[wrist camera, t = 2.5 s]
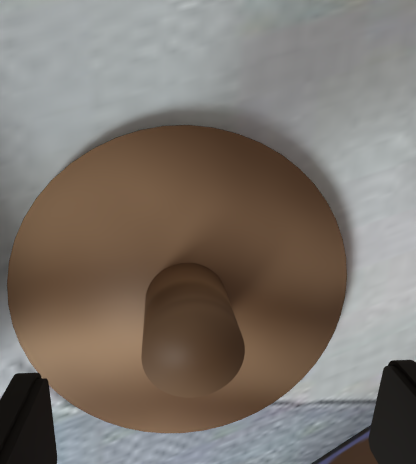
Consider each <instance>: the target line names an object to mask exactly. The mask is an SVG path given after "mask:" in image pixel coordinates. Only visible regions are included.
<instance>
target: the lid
mask: <svg viewBox="0 0 416 464" xmlns="http://www.w3.org/2000/svg"><path fill="white" fill-rule="evenodd" d="M346 281H347V270H346V255H345V250H344V244H343V239H342V236H341V233H340V230H339V227H338V224H337V221H336V219H335V217H334V215H333V213H332V211H331V209H330V207H329V205H328V203H327V201H326V200H325V198H324V197H323V196H322V194H321V193H320V191H319V190H318V189H317V187H316V186H315V184H314V183H313V182H312V181H311V180H310V179H309V178H308V177H307V176H306V175H305V174H304V173H303V172H302V171H301V170H300V169H299V168H298V167H297V166H295V165H294V164H293V163H292V162H290V161H289V160H288V159H286V158H285V157H284V156H283V155H281V154H279V153H278V152H276V151H274V150H272V149H271V148H269V147H267V146H265V145H264V144H262V143H260V142H257V141H255V140H252V139H250V138H247V137H245V136H242V135H239V134H236V133H233V132H229V131H224V130H220V129H216V128H212V127H202V126H193V125H176V126H161V127H155V128H149V129H143V130H139V131H135V132H132V133H129V134H126V135H123V136H120V137H117V138H114V139H112V140H110V141H108V142H106V143H104V144H102V145H100V146H98V147H96V148H94V149H92V150H90V151H89V152H87V153H86V154H84V155H83V156H81V157H80V158H78V159H77V160H75V161H74V162H72V163H71V164H69V165H68V166H67V167H66V168H65V169H64V170H63V171H62V172H60V173H59V174H58V175H57V176H56V177H55V178H54V179H53V180H51V182H50V183H49V184H48V185H47V186H46V188H45V189H44V190H43V191H42V192H41V193H40V195H39V196H38V197H37V198H36V200H35V201H34V203H33V204H32V206H31V208H30V209H29V211H28V213H27V214H26V216H25V217H24V219H23V221H22V224H21V226H20V229H19V231H18V233H17V236H16V238H15V240H14V244H13V248H12V252H11V256H10V260H9V268H8V279H7V291H8V305H9V310H10V315H11V319H12V324H13V327H14V330H15V332H16V335H17V337H18V340H19V343H20V345H21V347H22V349H23V350H24V352H25V354H26V356H27V358H28V359H29V361H30V363H31V364H32V365H33V367H34V368H35V369H36V371H37V372H38V373H40V375H41V377H42V378H47V379H48V383H49V385H50V386H51V387H52V388H53V389H54V390H55V391H56V392H57V393H58V394H59V395H61V396H62V397H63V398H65V399H66V400H67V401H69V402H70V403H71V404H73V405H74V406H76V407H78V408H79V409H81V410H83V411H84V412H86V413H88V414H90V415H92V416H94V417H97V418H99V419H101V420H103V421H106V422H108V423H112V424H115V425H118V426H121V427H124V428H129V429H134V430H139V431H144V432H156V433H186V432H194V431H203V430H207V429H211V428H216V427H220V426H224V425H227V424H230V423H233V422H235V421H238V420H241V419H243V418H245V417H248V416H250V415H252V414H254V413H256V412H258V411H260V410H262V409H263V408H265V407H267V406H268V405H270V404H272V403H274V402H275V401H276V400H278V399H279V398H280V397H282V396H283V395H284V394H286V393H287V392H288V391H290V390H291V389H292V388H293V387H294V386H295V385H296V384H297V383H298V382H299V381H300V380H301V379H303V377H304V376H305V375H306V374H307V373H308V372H309V371H310V369H311V368H312V367H313V366H314V365H315V363H316V362H317V361H318V359H319V358H320V356H321V355H322V353H323V352H324V350H325V349H326V347H327V345H328V343H329V341H330V339H331V337H332V335H333V333H334V331H335V329H336V326H337V323H338V321H339V318H340V315H341V311H342V307H343V303H344V298H345V291H346Z"/></svg>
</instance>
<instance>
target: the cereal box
mask: <svg viewBox="0 0 416 464" xmlns="http://www.w3.org/2000/svg"><path fill="white" fill-rule="evenodd" d="M370 429H371V425H370V426H369V427H367V428H366V429H364V430H363V431H361V432H360V433H358V434H356V435H355V436H353V437H352V438H350V439H349V440H347V441H346V442H344V443H343V444H341V445H339V446H338V447H336V448H335V449H333V450H332V451H330V452H329V453H327V454H326V455H324V456H322V457H321V458H319V459H318V460H316V461H315V462H313V463H312V464H378V462H377V461H376V459H375V457H374V456H373V454H372V452H371V450H370V447H369V441H368V439H369V433H370Z"/></svg>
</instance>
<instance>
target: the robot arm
mask: <svg viewBox="0 0 416 464" xmlns="http://www.w3.org/2000/svg"><path fill="white" fill-rule="evenodd" d="M368 441H369V447H370V450H371V452H372V454H373V456H374V457H375V459H376V461H377V462H378V464H416V362H414V361H412V360H394V361H391V362H390V363H389V364H388V366H385V368H384V370H383V374H382V378H381V383H380V387H379V392H378V397H377V401H376V406H375V410H374V415H373V419H372V424H371V429H370V433H369V439H368ZM0 464H57V451H56V442H55V434H54V425H53V417H52V408H51V399H50V391H49V383H48V379H47V378H41V375H40V373H18V374H15V375H14V377H13V378H12V380H11V382H10V384H9V385H8V387H7V389H6V391H5V392H4V394H3V396H2V398H1V399H0Z"/></svg>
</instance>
